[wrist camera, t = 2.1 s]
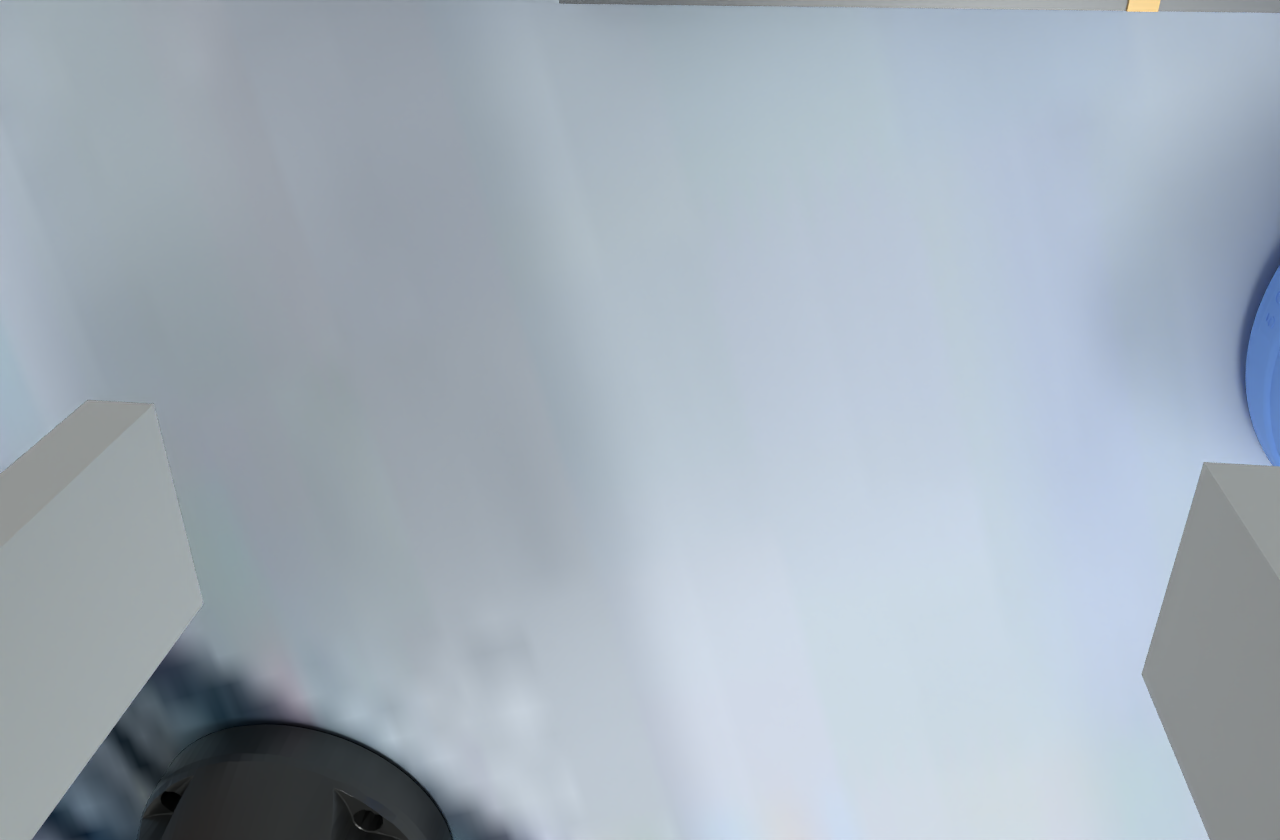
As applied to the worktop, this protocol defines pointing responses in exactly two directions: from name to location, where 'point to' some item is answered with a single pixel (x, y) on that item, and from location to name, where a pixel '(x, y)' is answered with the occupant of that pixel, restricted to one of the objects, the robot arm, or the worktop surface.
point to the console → (989, 4)
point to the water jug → (1266, 372)
